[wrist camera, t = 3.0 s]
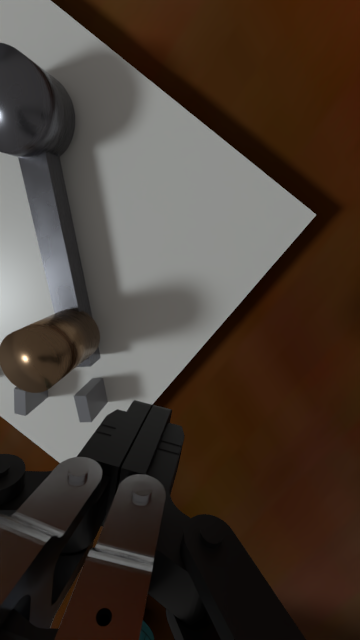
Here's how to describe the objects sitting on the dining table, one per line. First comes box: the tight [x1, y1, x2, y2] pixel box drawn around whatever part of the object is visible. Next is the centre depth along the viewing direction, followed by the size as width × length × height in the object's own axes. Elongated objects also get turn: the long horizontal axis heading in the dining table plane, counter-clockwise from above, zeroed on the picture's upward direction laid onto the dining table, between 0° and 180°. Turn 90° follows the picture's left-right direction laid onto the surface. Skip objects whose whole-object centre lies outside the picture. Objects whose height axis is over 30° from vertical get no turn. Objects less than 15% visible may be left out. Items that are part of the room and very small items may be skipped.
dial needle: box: [0, 43, 101, 393], centre depth 17 cm, size 16×4×6 cm, turn 8°
